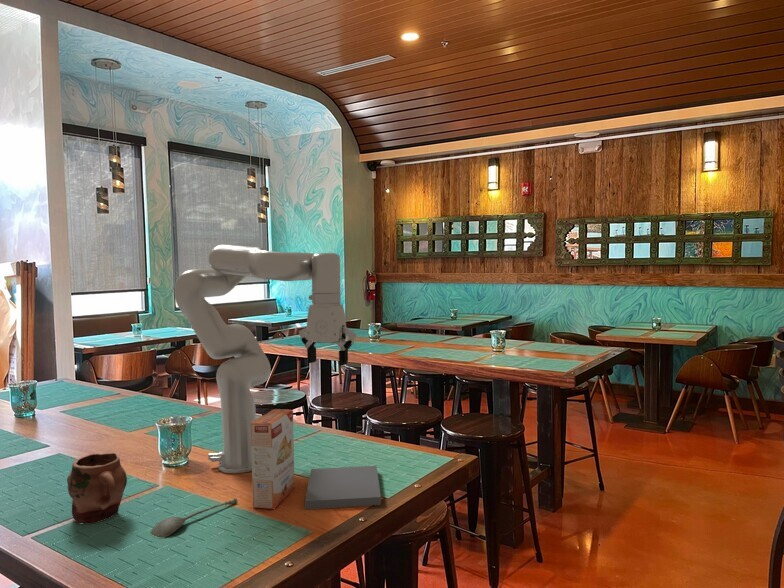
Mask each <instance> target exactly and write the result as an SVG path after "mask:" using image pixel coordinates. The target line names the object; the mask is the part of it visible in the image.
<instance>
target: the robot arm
mask: <svg viewBox="0 0 784 588" xmlns="http://www.w3.org/2000/svg"><path fill="white" fill-rule="evenodd" d="M208 264H209V266H210V268H195V269H189V270H186V271H184V272H183V273H180V275H178V277H177V279H176V280H175V283H174V290H173V291H174V300H175V302H176V305H177V307H178V309H179V310H180V311H181V313H182V314H183V315H184V317H185V318H186V320H187V321H188V322H189V324H190V326H191V327H192V330H193V331H194V334H195V335H196V336H197V339H198V340H199V343H201V345H202V347H203V350H205V352H206V354H207V355H208V356H209V358H211V359H213V360H223V359H228V358H230V359H228V360H226V361H223V362H222V363H221V364H220V365H219V366H218V368H217V369H216V374H215V376H216V379H215V381H216V384H217V388H218V392H219V399H220V408H221V409H220V412H221V413H220V414H221V433H222V436H221V437H222V451H219V453H218V452H217V453H216V452H211V453H208V456H207V459H208V460H209V461H210V463H212V462H219V463H218V465H217V468H218V471H220V472H221V473H226V474H244V473H248V472H252V456H251V423H252V422H253V421H255V420H257V415H256V414H257V413H256V402H255V400H254V396H253V395H252V393H251V390H250V389H251V388H253V387H256V386H260V385H262V384H264V383H265V382H267V381H268V380H269V378H270V376H271V372H272V368H271V364H270V360H269V359H268V357H267V355H266V354H265V352H264V350H263V349H262V347H261V345H260V343H259V342H258V340H257V338H256V337H255V334H253V332H252V331H251V329H249V328H248V327H247V326H245V325H243V324H239V323H234V324H226V322H225V321H224V320H223V318H222V317H221V315H220V313H219V311H218V310H217V309H216V308H215V306H214V305H212V304H211V303H209V302H208V301H207V300H206V299H205V298H212V297H213V298H214V297H222V296H225V295H227V294H228V293H230V292H231V291H232V290H233V289H234V288H235V287H237V285H239V283H241V281H243V280H244V279H245V278H246V277H250V278H257V279H264V280H270V281H271V280H272V281H279V282H296V281H297V282H299V281H311V294H310V295H308V300H310V301H311V303H312V304H309V307H308V310H307V311H308V312H307V317H306V318H307V319H306V326H305V327H304V328H302V329H301V330H299V331H298V334H299V337H300V339H301V342H302V344H304V347H305V348H306V352H307V353H306V354H307V356H306V358H307V363H308V364H312V363H316V362H317V347H316V346H315V345H316V344H317V343H318V344H336V345H337V346H338V347H339V349H340V350H339V351H338V365H339V366H340V367H341V366H345V365H347V364H348V362H349V350H350V349H351V347H352V345H353V344H354V342H355V340H356V338H357V333H356V332H354V331H353V330H351V329H349V328H348V327H347V323H346V315H345V309H344V305H343V304H342V303H341V301H342V300H341V299H342V297H341V296H342V294H341V257H340V256H339V254H338V253H335V252H317V253H313V252H312V253H311V252H295V251H293V252H290V251H289V252H287V251H286V252H285V251H284V252H283V251H272V250H265V248H263V247H261V246H248V245H243V244H227V243H226V244H220V245H219V244H218V245H216V246H215V247H213V248H212V249H211V250H210V252H209V254H208ZM347 336H348V340H346V339H347ZM232 357H233V358H232Z"/></svg>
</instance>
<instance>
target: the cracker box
mask: <svg viewBox="0 0 784 588" xmlns="http://www.w3.org/2000/svg"><path fill="white" fill-rule="evenodd" d="M294 439H295V438H294V410H293V409H288V408H287V409H284V408H283V409H280V408H279V409H277V408H275V409H271V410H270V411H269V412H266V413H265V414H263V415H262V416H260V417H258V418H256V420H255V421H253V422H252V423H251V456H252V471H251V485H252V487H251V488H252V489H251V490H252V493H251V494H252V508H254V509H267V510H268V509H269V510H275V509H276V508H277V506H279V505H280V503H281V502H282V501H284V499H285V498H286V497H288V495H290V493H291V492H292V491H293V490H294V489H295V488H296V487H295V485H296V484H295V483H296V482H295V446H294V445H295V444H294V443H295V441H294Z"/></svg>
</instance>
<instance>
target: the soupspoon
mask: <svg viewBox="0 0 784 588" xmlns="http://www.w3.org/2000/svg"><path fill="white" fill-rule="evenodd" d="M238 503H239V502H238V498H236V497H234V498H233V499H231V500H228V501H224V502H222V503H219V504H215V505H212V506H209V507H207V508H204V509H201V510H198V511H196V512H194V513H190V514H189V515H187V516H184V517H180V516H172V517H171V516H170V517H167V518H164V519H162V520H160V521H159V522H158V523H157V524H155V525H154V527H153V528H152V529H151V531H150V533H151V534H152V535H154V536H157V537H166V538H167V537H169V536H170V535H172V534H173V533H175V532H176V531H177V530H179V529H180V528H181V527H182V526H183V525H184V524H185V523H186V521H187V520H188V519H191V518H193V517H194V516H197V515H200V514H202V513H204V512H205V513H206V512H207V511H210V510H213V509H215V508H218V507H221V506H227V505H228V506H230V505H238ZM151 534H150V535H151ZM152 535H151V536H152Z"/></svg>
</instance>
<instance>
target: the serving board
mask: <svg viewBox="0 0 784 588" xmlns="http://www.w3.org/2000/svg"><path fill="white" fill-rule="evenodd" d="M380 489H381V487H380V481H379V474H378V466H377V465H362V466H345V467H342V466H341V467H326V468H325V467H324V468H311V469H310V473H309V478H308V483H307V488H306V494H305V499H304V507H305V508H304V509H305V510H319V509H334V508H335V509H337V508H355V507H357V508H358V507H371V506H372V505H375V506H382V495H381V490H380Z"/></svg>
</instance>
